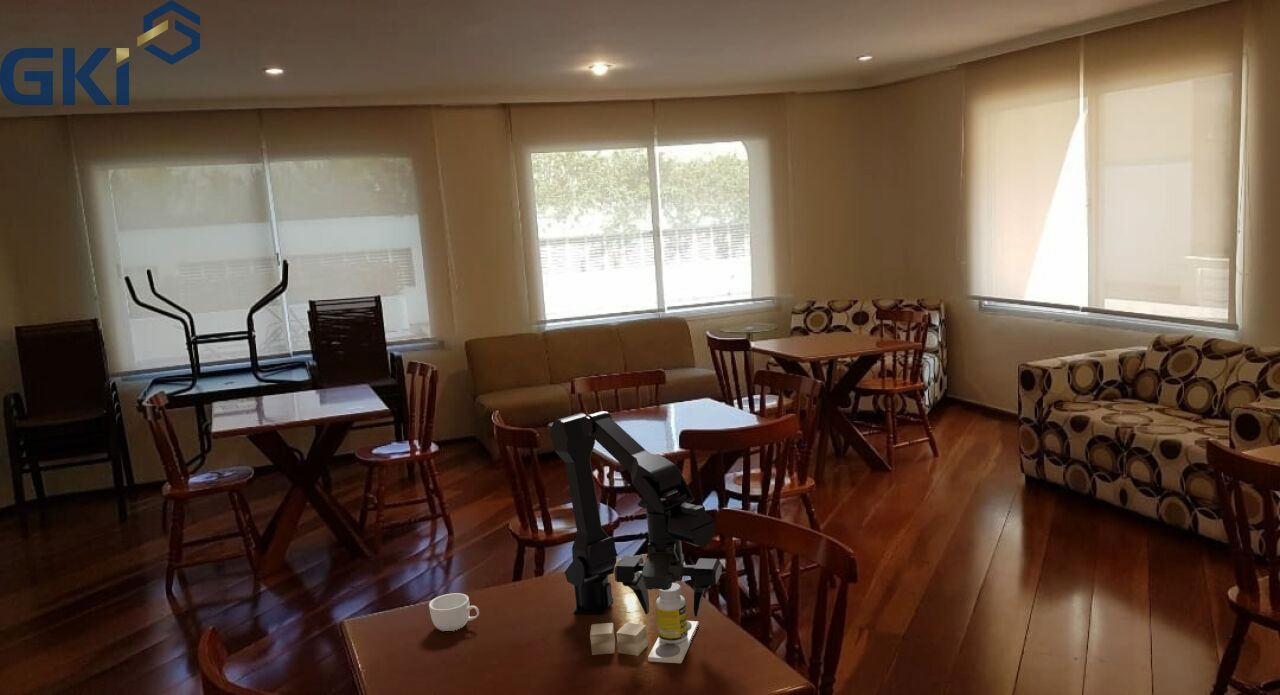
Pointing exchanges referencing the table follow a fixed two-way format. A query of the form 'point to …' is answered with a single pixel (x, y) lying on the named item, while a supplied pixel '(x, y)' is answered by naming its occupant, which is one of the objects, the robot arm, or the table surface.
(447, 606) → the teacup
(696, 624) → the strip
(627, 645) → the beech block
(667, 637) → the supplement bottle
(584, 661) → the table surface
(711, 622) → the table surface
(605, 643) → the beech block
